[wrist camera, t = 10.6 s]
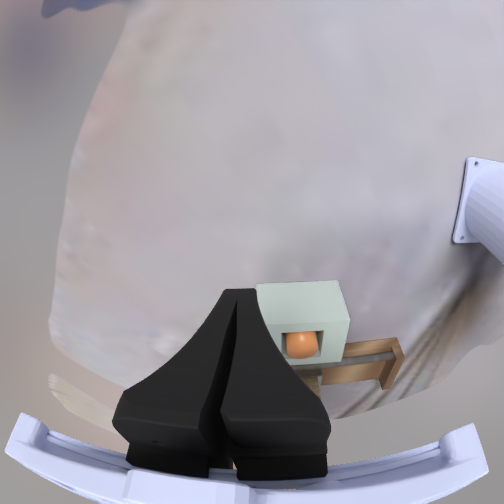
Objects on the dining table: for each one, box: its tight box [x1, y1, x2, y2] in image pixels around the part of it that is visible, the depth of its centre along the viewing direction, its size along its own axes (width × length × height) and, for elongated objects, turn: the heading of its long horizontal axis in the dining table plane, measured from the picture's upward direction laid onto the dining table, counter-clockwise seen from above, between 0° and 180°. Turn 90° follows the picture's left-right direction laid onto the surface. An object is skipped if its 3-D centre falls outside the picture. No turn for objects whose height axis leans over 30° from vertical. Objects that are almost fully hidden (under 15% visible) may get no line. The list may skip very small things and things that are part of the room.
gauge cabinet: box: [256, 280, 350, 365], centre depth 24 cm, size 7×5×5 cm
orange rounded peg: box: [286, 331, 318, 359], centre depth 22 cm, size 2×2×3 cm
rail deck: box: [290, 338, 405, 390], centre depth 29 cm, size 15×6×3 cm, turn 94°
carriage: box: [294, 369, 322, 400], centre depth 27 cm, size 5×4×5 cm
